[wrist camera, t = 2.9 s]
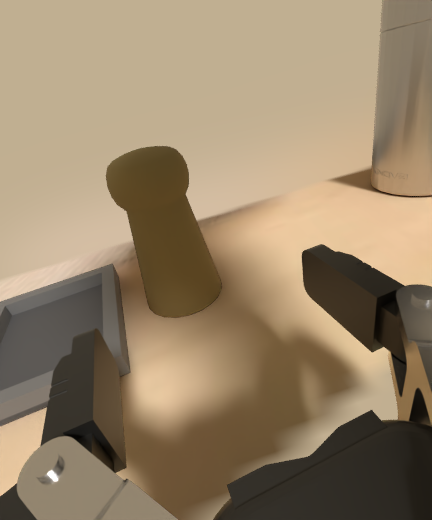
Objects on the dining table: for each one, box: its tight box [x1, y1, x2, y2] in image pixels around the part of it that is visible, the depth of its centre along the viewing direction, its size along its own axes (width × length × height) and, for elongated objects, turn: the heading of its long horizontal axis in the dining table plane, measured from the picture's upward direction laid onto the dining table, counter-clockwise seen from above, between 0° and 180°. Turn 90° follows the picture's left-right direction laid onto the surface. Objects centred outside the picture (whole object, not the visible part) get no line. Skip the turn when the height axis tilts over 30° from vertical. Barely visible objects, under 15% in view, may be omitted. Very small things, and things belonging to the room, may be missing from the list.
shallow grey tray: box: [0, 264, 130, 426], centre depth 22 cm, size 10×12×2 cm
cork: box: [106, 146, 222, 318], centre depth 21 cm, size 6×6×11 cm
